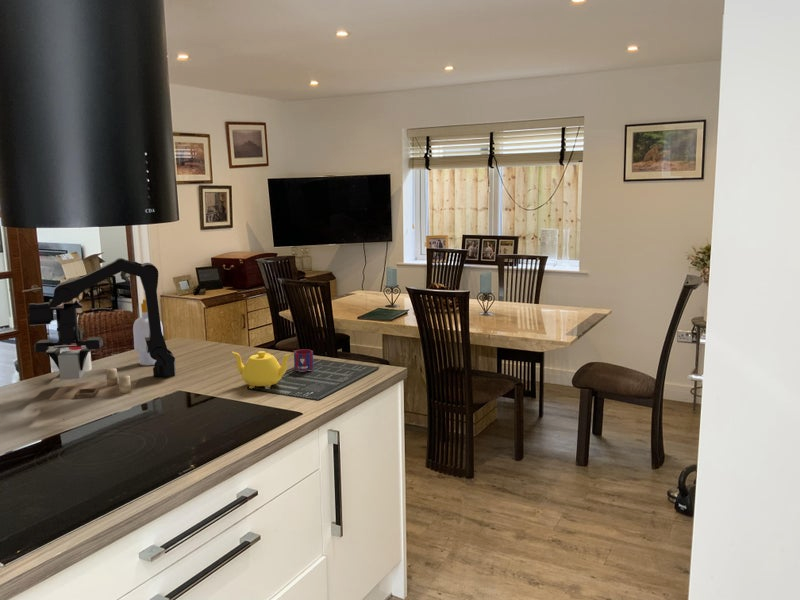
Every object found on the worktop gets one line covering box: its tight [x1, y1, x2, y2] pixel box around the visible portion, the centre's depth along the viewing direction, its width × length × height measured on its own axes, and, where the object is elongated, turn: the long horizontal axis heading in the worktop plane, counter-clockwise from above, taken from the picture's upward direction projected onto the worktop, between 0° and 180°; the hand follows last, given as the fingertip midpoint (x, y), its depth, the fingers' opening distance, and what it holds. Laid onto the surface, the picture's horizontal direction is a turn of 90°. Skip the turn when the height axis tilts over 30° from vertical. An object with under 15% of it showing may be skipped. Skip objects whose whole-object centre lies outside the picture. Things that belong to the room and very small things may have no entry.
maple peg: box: [118, 374, 131, 394], centre depth 198 cm, size 3×3×5 cm
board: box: [48, 379, 140, 401], centre depth 201 cm, size 23×16×3 cm
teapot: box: [231, 350, 292, 388], centre depth 211 cm, size 20×15×12 cm
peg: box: [105, 367, 119, 386], centre depth 206 cm, size 3×3×5 cm
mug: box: [293, 348, 314, 371], centre depth 230 cm, size 7×10×7 cm
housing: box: [58, 350, 85, 381], centre depth 203 cm, size 6×6×8 cm
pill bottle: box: [65, 347, 93, 373], centre depth 222 cm, size 8×8×11 cm
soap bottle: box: [132, 298, 164, 367], centre depth 235 cm, size 10×10×24 cm
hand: (71, 370), depth 203 cm, fingers closed on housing, 6 cm apart
